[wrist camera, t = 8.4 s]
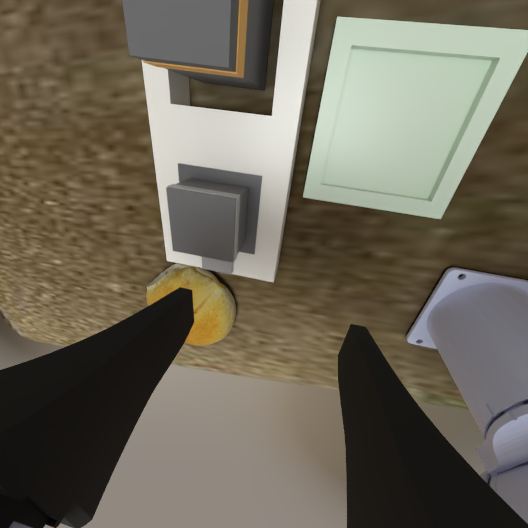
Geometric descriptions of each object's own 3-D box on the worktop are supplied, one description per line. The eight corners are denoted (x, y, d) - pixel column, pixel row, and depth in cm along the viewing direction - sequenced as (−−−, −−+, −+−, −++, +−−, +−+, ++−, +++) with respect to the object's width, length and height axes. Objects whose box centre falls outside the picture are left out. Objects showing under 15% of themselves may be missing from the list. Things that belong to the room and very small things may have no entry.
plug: (274, -4, 13) (236, -116, 7) (265, 91, 15) (229, 69, 9) (201, -10, 13) (104, -122, 7) (202, 83, 15) (128, 57, 9)
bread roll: (203, 338, 28) (186, 367, 25) (146, 283, 25) (119, 307, 22) (256, 313, 24) (246, 343, 21) (196, 246, 22) (173, 268, 18)
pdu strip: (328, -50, 11) (335, -169, 7) (278, 266, 21) (266, 307, 16) (155, -57, 12) (58, -165, 8) (181, 247, 22) (144, 280, 17)
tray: (522, 37, 12) (538, 31, 11) (434, 214, 16) (440, 219, 15) (335, 23, 13) (337, 16, 12) (303, 193, 17) (302, 197, 16)
